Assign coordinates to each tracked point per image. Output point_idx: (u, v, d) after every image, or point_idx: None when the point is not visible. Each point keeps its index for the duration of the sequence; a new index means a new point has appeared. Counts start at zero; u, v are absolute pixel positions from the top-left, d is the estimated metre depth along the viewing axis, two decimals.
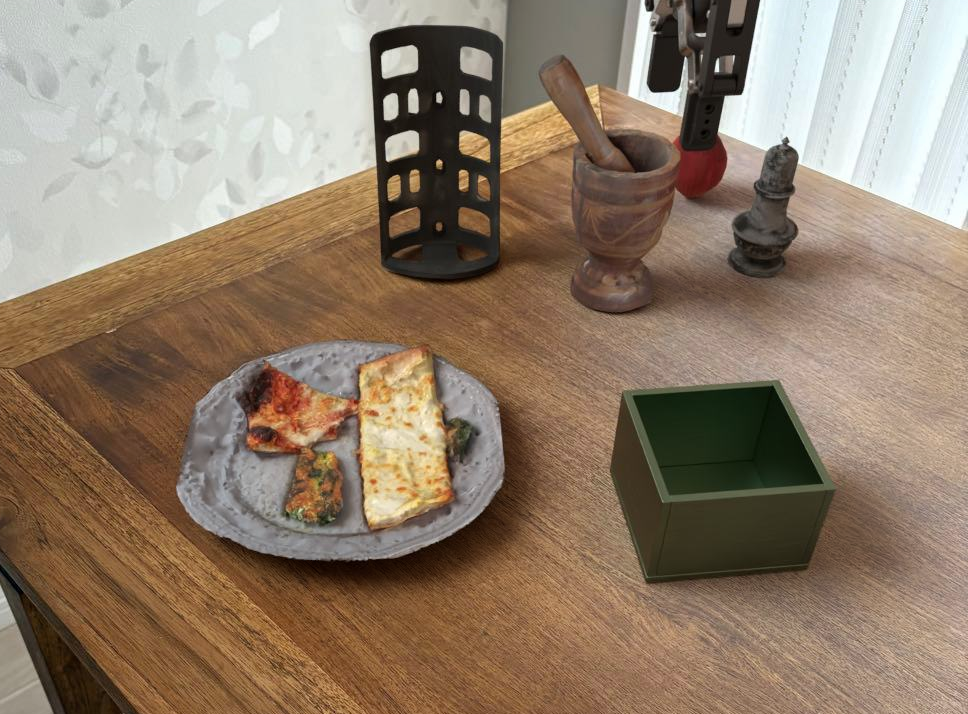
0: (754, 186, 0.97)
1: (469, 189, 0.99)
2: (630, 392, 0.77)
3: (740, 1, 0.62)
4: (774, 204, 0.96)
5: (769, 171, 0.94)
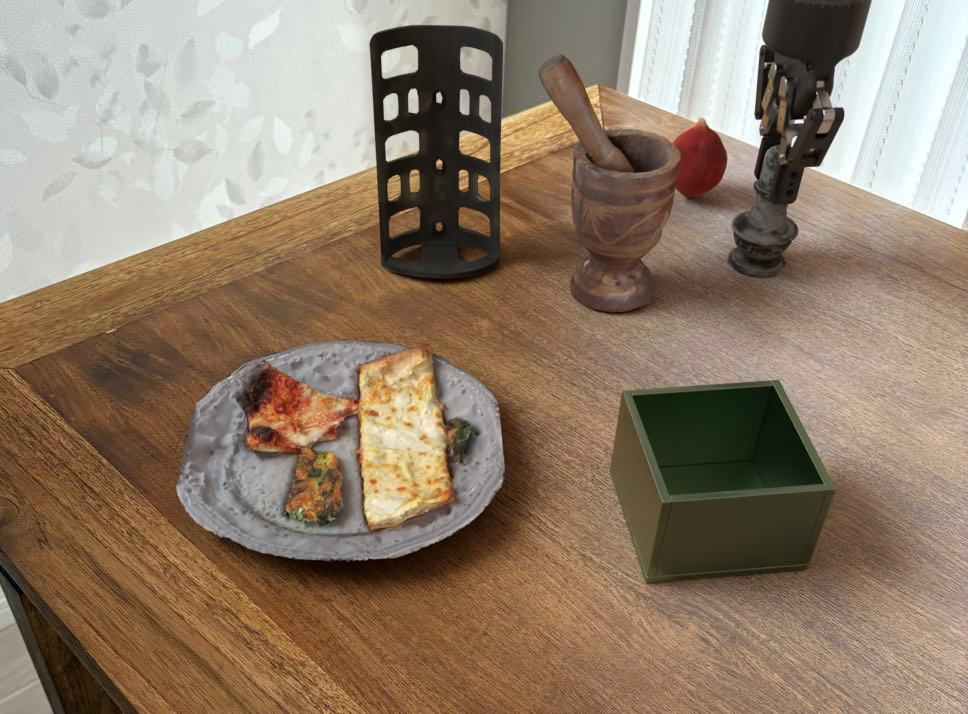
0: (754, 186, 0.97)
1: (469, 189, 0.99)
2: (630, 392, 0.77)
3: (829, 121, 0.85)
4: (774, 205, 0.96)
5: (770, 171, 0.94)
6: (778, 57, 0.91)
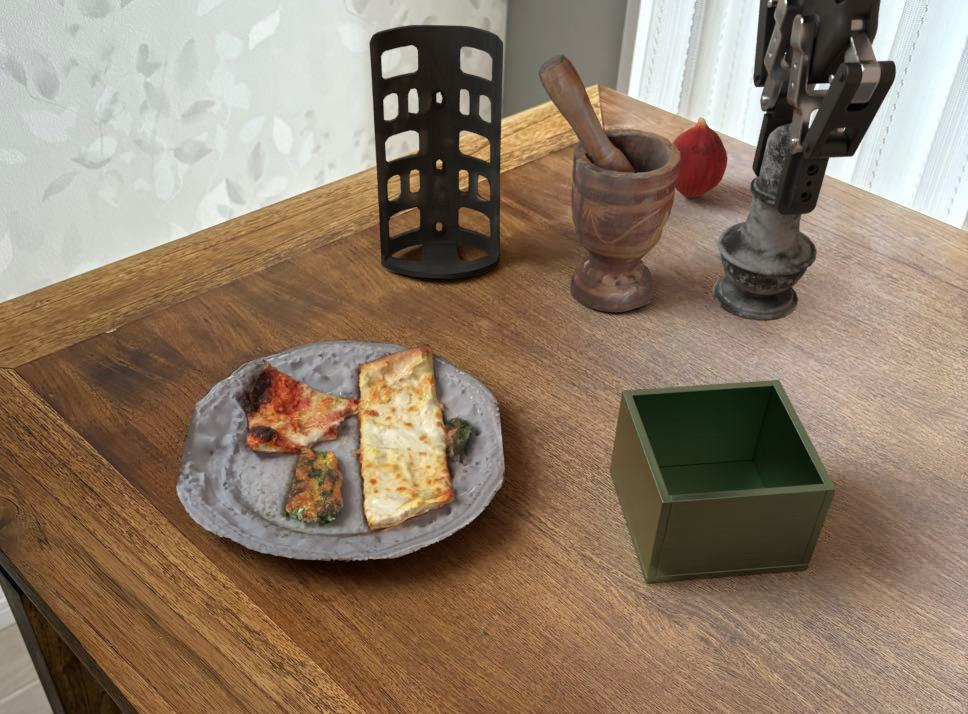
0: (751, 187, 0.65)
1: (469, 189, 0.99)
2: (630, 392, 0.77)
3: (871, 83, 0.53)
4: (781, 214, 0.64)
5: (774, 164, 0.62)
6: None
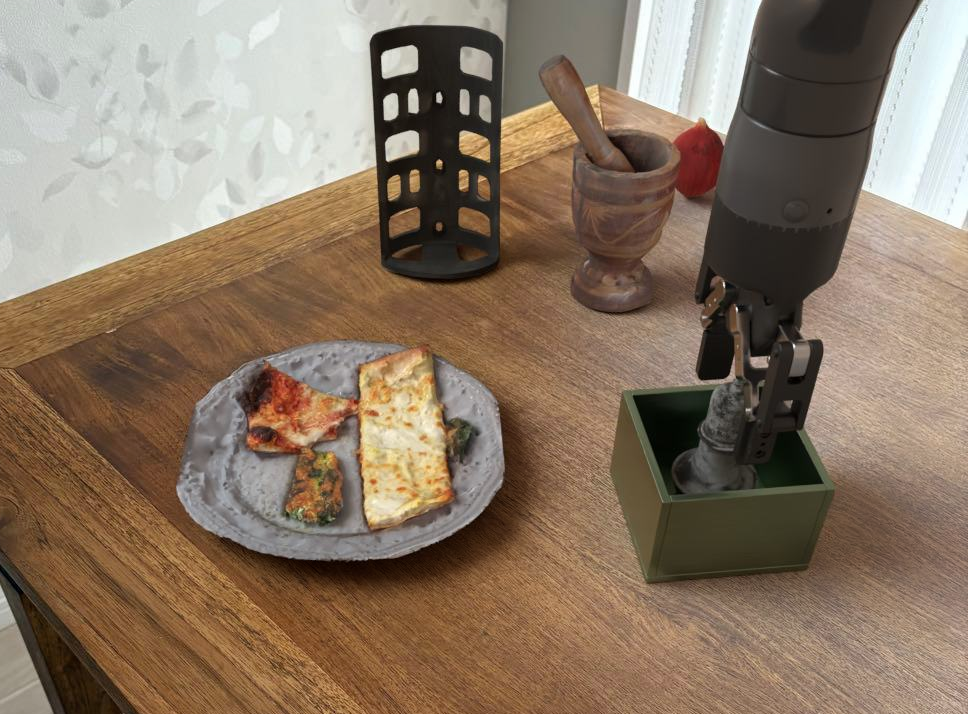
0: (699, 431, 0.73)
1: (469, 189, 0.99)
2: (630, 392, 0.77)
3: (803, 356, 0.60)
4: (725, 457, 0.73)
5: (717, 418, 0.71)
6: None
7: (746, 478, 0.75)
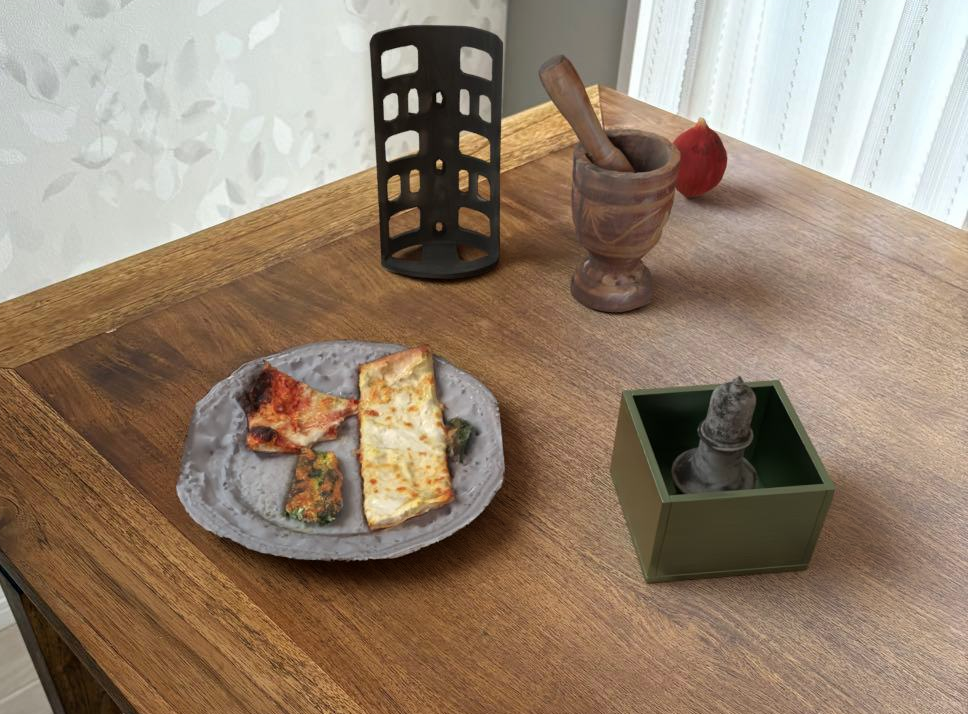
0: (699, 431, 0.73)
1: (469, 189, 0.99)
2: (630, 392, 0.77)
3: None
4: (725, 457, 0.73)
5: (717, 418, 0.71)
6: None
7: (746, 478, 0.75)
